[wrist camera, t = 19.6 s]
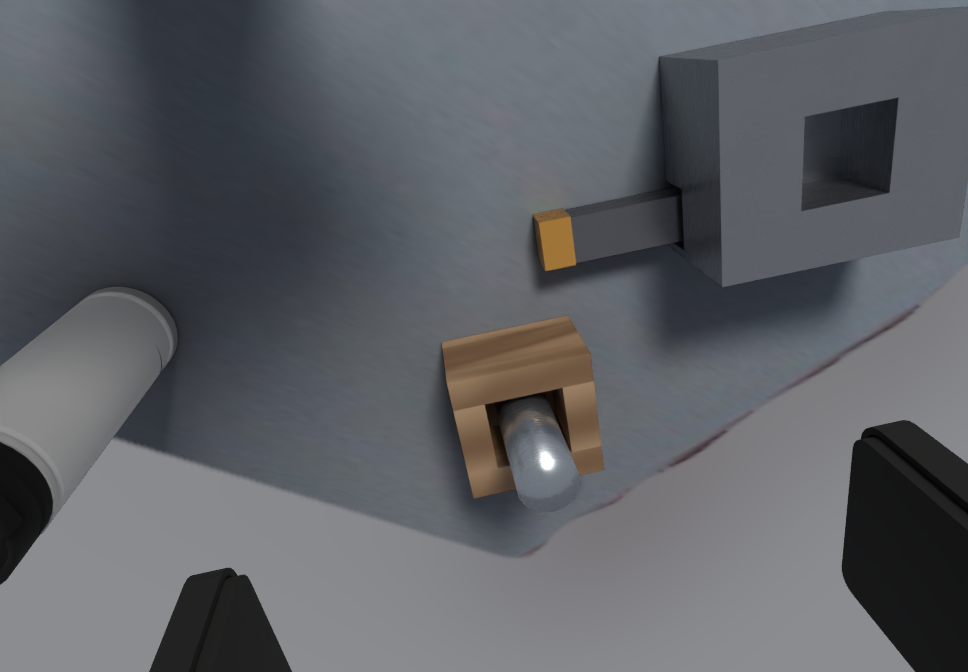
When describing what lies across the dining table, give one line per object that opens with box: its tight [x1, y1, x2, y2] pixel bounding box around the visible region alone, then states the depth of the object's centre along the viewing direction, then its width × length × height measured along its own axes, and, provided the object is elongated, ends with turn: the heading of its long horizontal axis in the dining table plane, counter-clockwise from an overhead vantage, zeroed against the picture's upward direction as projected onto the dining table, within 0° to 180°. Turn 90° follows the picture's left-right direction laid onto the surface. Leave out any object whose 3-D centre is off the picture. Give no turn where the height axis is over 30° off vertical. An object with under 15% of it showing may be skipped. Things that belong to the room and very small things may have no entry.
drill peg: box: [494, 392, 581, 512], centre depth 41 cm, size 4×4×11 cm
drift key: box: [533, 187, 684, 271], centre depth 42 cm, size 3×16×2 cm, turn 100°
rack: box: [442, 316, 604, 498], centre depth 44 cm, size 9×9×6 cm
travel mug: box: [0, 287, 178, 584], centre depth 33 cm, size 6×7×20 cm
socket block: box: [659, 7, 968, 287], centre depth 38 cm, size 12×14×8 cm
